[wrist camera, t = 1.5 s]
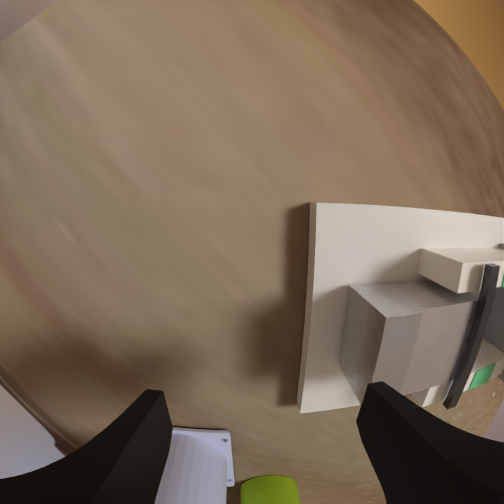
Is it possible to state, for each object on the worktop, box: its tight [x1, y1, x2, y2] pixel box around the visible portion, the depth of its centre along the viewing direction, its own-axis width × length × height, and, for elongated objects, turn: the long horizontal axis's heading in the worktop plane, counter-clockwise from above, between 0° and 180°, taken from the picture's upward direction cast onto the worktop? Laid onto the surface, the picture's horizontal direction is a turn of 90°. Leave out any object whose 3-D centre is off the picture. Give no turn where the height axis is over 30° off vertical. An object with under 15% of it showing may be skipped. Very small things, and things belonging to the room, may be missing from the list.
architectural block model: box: [297, 202, 504, 413], centre depth 13 cm, size 20×14×10 cm
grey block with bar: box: [338, 263, 500, 409], centre depth 13 cm, size 8×9×5 cm
